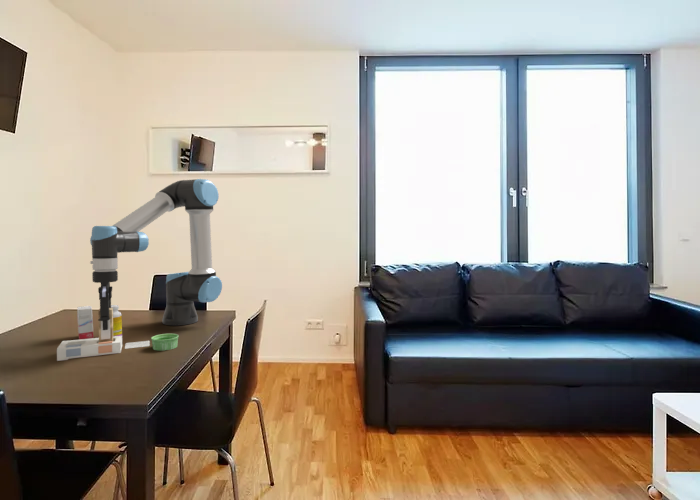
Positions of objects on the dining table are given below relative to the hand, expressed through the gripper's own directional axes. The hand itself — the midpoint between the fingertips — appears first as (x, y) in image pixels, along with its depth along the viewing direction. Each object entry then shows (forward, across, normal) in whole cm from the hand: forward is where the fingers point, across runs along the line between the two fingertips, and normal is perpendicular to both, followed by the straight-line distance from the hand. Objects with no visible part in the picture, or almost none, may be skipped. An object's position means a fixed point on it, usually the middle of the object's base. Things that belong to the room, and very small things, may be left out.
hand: (106, 337), depth 144 cm
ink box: (+5, -26, -9) cm, 28 cm away
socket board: (+5, 0, -4) cm, 7 cm away
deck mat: (+5, -4, +10) cm, 12 cm away
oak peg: (+2, 0, 0) cm, 2 cm away
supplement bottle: (+5, -19, 0) cm, 20 cm away
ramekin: (+5, +4, +18) cm, 20 cm away
